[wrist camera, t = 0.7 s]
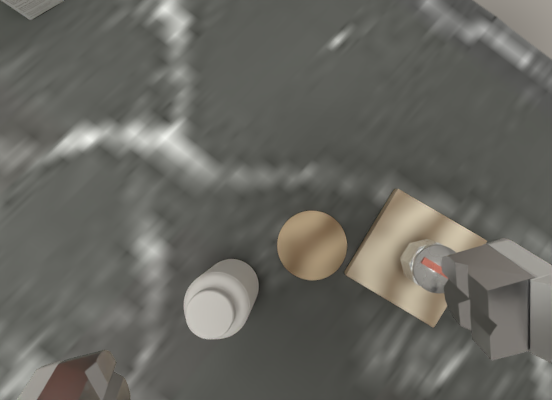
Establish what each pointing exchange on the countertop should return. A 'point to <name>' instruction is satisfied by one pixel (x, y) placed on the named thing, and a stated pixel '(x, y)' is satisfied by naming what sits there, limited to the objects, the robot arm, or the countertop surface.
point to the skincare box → (32, 6)
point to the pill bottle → (221, 299)
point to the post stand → (392, 243)
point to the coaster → (312, 245)
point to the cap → (425, 264)
